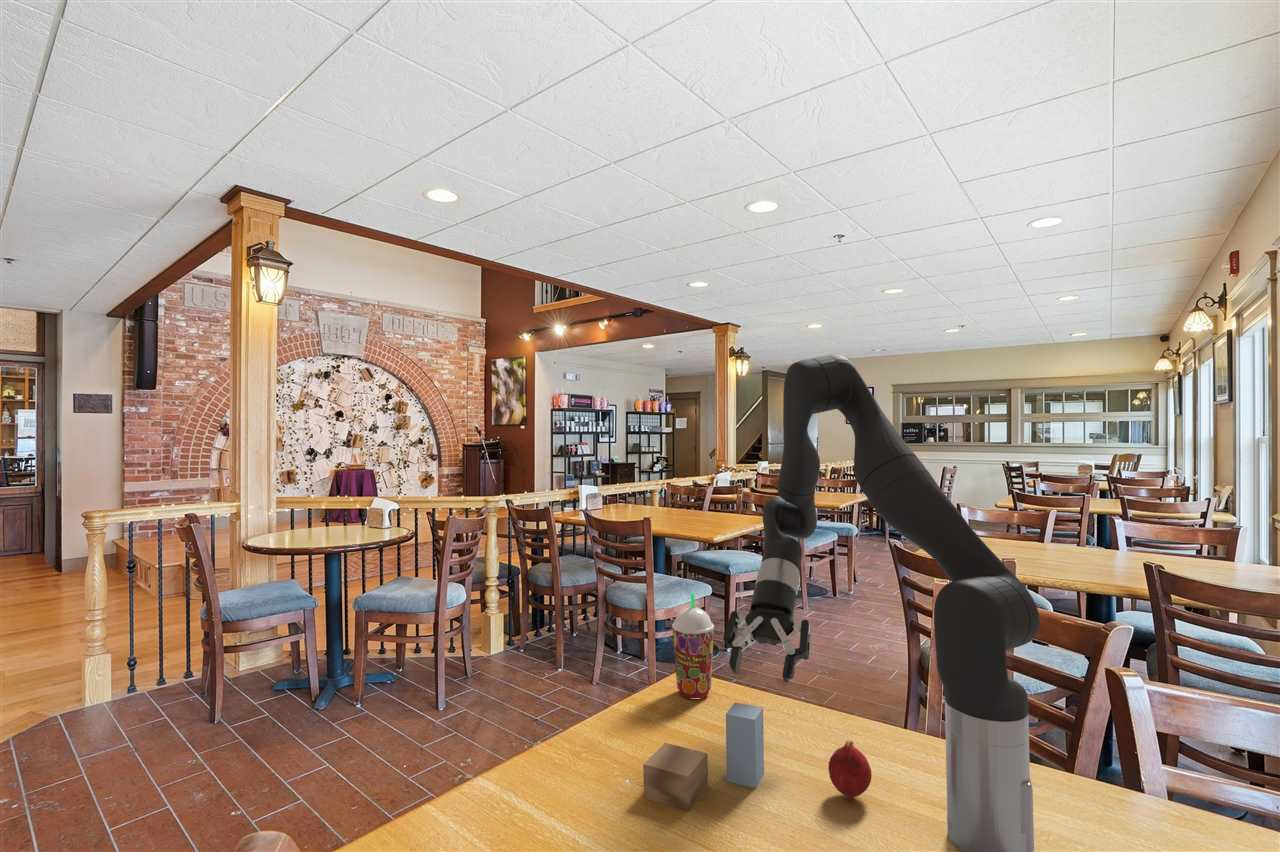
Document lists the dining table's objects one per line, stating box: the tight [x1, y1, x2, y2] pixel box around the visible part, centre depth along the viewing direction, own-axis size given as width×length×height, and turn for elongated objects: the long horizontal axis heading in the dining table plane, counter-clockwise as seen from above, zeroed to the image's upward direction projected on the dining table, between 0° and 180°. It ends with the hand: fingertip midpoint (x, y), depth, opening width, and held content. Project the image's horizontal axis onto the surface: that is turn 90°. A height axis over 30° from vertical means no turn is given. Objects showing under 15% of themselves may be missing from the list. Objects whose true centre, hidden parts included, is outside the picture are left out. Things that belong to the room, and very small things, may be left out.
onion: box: [828, 739, 872, 799], centre depth 88 cm, size 6×6×8 cm
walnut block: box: [642, 742, 709, 812], centre depth 90 cm, size 7×7×5 cm
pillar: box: [725, 702, 765, 789], centre depth 94 cm, size 4×4×10 cm
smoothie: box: [671, 593, 715, 699], centre depth 124 cm, size 8×8×20 cm
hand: (759, 675), depth 102 cm, fingers open, 8 cm apart
